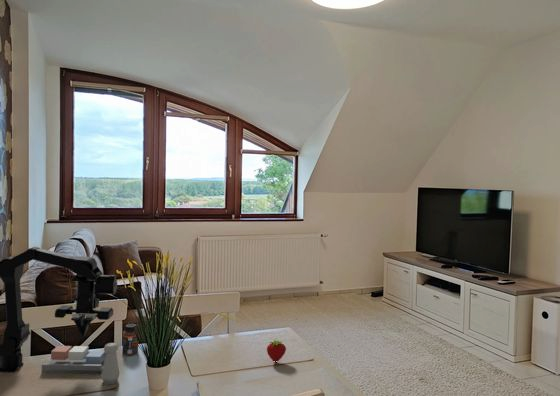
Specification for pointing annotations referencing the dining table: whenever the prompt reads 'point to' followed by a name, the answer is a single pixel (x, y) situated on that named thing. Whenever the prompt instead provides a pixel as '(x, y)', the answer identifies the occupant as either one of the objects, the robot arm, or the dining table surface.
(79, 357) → the off-white square block
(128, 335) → the supplement bottle
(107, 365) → the salt shaker
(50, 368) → the panel
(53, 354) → the key red
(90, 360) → the blue-grey square block
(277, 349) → the strawberry
